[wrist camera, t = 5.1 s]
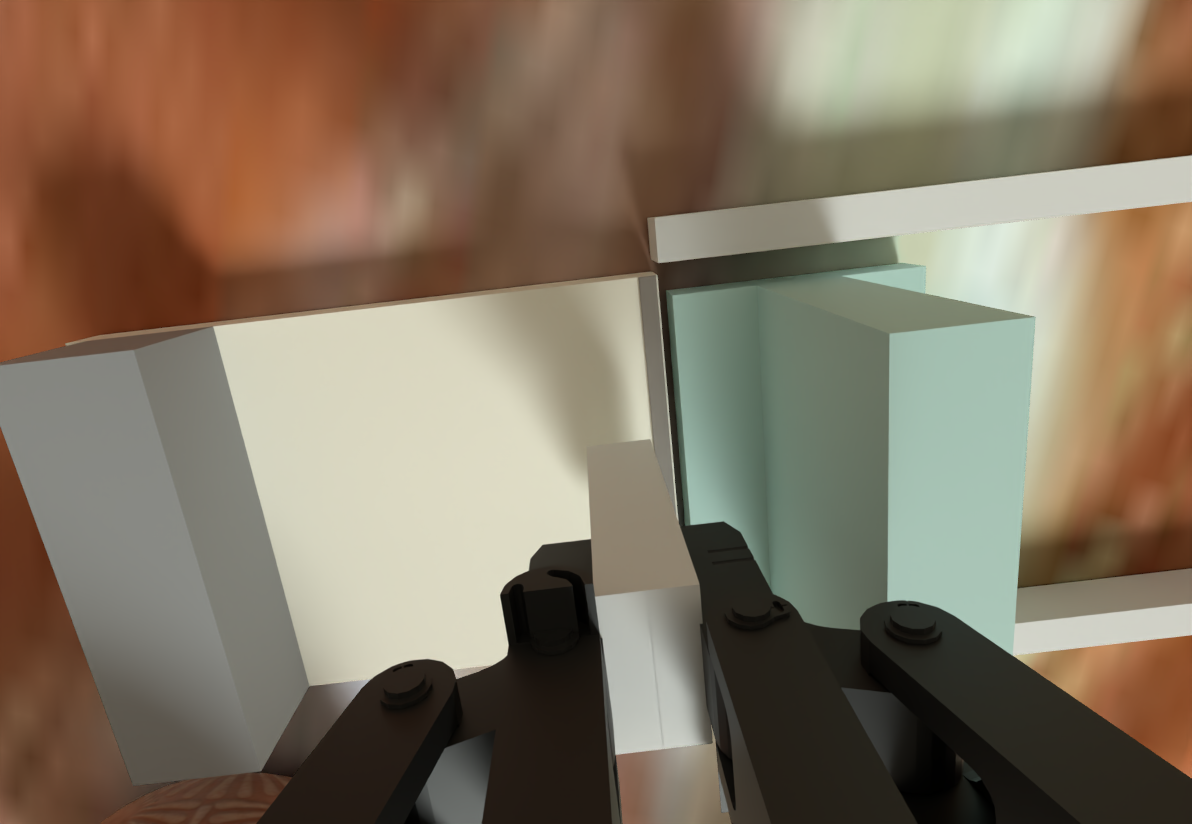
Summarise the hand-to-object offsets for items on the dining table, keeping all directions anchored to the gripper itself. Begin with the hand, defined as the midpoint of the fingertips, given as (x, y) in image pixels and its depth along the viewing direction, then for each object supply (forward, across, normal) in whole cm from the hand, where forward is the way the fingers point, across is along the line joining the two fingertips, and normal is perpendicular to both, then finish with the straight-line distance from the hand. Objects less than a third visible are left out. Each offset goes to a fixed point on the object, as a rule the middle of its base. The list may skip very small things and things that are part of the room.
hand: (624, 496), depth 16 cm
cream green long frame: (+3, +3, 0) cm, 4 cm away
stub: (+2, +5, 0) cm, 5 cm away
